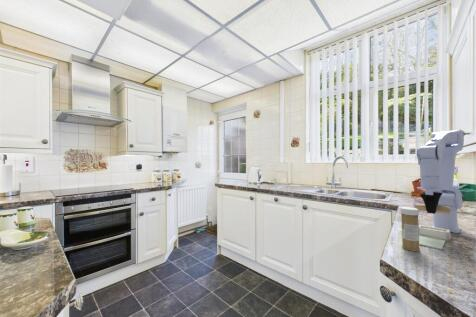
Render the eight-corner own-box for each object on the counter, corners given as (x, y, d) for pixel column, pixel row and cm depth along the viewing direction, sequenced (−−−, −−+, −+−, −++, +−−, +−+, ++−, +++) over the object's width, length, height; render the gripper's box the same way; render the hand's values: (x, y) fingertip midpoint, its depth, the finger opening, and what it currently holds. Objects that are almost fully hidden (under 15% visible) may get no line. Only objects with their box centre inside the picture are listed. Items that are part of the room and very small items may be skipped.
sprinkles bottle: (403, 245, 68) (402, 206, 69) (421, 249, 65) (419, 208, 65) (400, 248, 65) (398, 207, 66) (419, 253, 62) (417, 210, 62)
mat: (419, 236, 76) (419, 235, 76) (445, 241, 71) (445, 240, 71) (413, 243, 69) (413, 242, 69) (441, 249, 64) (441, 248, 64)
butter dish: (419, 232, 81) (419, 224, 81) (450, 237, 74) (450, 229, 74) (417, 234, 78) (416, 227, 78) (449, 241, 71) (448, 232, 71)
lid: (416, 208, 81) (416, 200, 81) (450, 211, 74) (449, 203, 74) (414, 209, 78) (414, 201, 78) (449, 213, 71) (449, 204, 71)
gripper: (419, 175, 84) (420, 207, 84) (413, 177, 75) (415, 213, 74) (442, 176, 79) (444, 210, 78) (440, 177, 69) (442, 216, 69)
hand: (432, 211), depth 76 cm, fingers closed on lid, 5 cm apart
